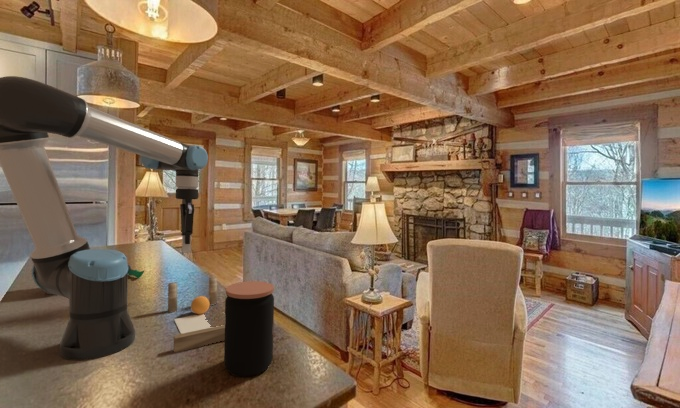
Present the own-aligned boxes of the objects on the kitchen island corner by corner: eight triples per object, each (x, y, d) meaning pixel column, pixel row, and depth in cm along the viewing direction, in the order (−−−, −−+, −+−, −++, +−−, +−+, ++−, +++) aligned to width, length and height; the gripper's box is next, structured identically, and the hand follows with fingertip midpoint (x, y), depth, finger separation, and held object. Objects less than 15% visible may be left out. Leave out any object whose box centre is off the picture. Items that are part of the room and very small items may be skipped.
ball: (206, 310, 107) (211, 314, 103) (188, 313, 104) (192, 317, 99) (207, 294, 108) (211, 296, 103) (189, 296, 104) (193, 298, 100)
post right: (217, 304, 112) (218, 278, 112) (209, 305, 111) (210, 279, 110) (215, 302, 114) (216, 277, 114) (208, 303, 113) (208, 278, 112)
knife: (118, 273, 148) (118, 263, 148) (122, 273, 150) (122, 262, 150) (143, 280, 139) (143, 269, 138) (147, 279, 140) (147, 268, 140)
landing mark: (234, 325, 95) (234, 325, 95) (182, 337, 87) (182, 336, 87) (221, 310, 106) (221, 310, 106) (174, 319, 98) (174, 319, 98)
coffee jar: (282, 365, 74) (283, 287, 74) (240, 385, 66) (241, 298, 66) (255, 349, 81) (256, 278, 81) (215, 365, 73) (216, 286, 73)
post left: (177, 311, 105) (177, 283, 104) (168, 313, 103) (168, 285, 103) (176, 308, 107) (176, 282, 107) (167, 310, 105) (167, 283, 105)
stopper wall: (254, 333, 90) (254, 321, 90) (174, 352, 79) (175, 338, 78) (252, 331, 92) (252, 318, 92) (173, 349, 80) (173, 335, 80)
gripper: (202, 188, 115) (201, 254, 116) (194, 188, 125) (193, 248, 126) (179, 188, 110) (178, 256, 111) (172, 187, 121) (172, 250, 122)
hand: (186, 252), depth 119 cm, fingers closed
